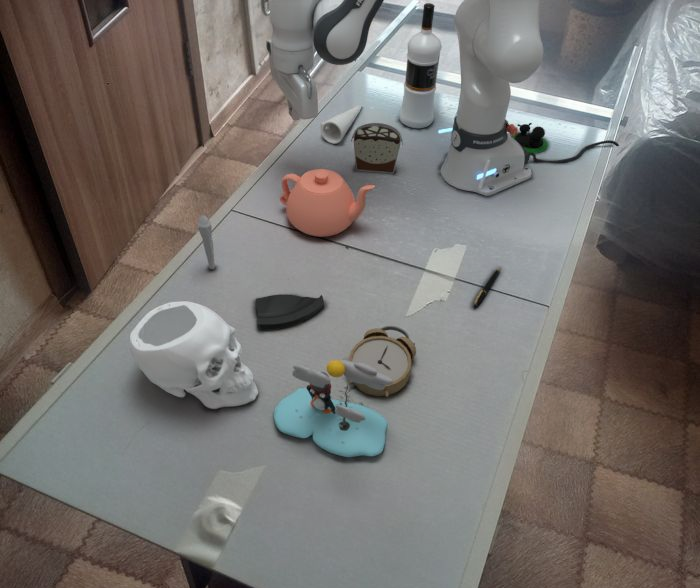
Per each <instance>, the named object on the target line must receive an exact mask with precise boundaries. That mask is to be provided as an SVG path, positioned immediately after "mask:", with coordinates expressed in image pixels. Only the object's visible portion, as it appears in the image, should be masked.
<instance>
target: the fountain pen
mask: <svg viewBox="0 0 700 588" xmlns="http://www.w3.org/2000/svg"><path fill="white" fill-rule="evenodd" d="M500 271H501V266H499V267H497V268H496V269H495V271H494V272H493V273H492V275H491V277H489V279H488V280H487V282H486V284H485V285H484V286H483V288H482V289H481V290H480V292H479V293H478V295H477V297H476V298H475V300H474V303H473V308H474V309H475V308H477V307H478V306H479V305H480V304H481V303H482V301H483V300H484V298H485V297H486V295H487V294H488V292H489V290H490V288H491V287H492V285H494V284H493V283H494V282H495V280H496V279H497V277H498V275H499V273H500Z"/></svg>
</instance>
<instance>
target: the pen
mask: <svg viewBox="0 0 700 588" xmlns="http://www.w3.org/2000/svg"><path fill="white" fill-rule="evenodd" d="M197 227H198V228H197V229H198V231H199V235H200V237H201V239H202V244H203V248H204V251H205V256H206V259H207V260H206V261H207V264H208V267H209V269H210V270H214V269H215V268H216V264H215V253H214V252H215V251H214V240H213V235H212V231H213V230H212V222H211V220H210V219H209V218H208V217H207V216H206V215H205V214H202V215H201V216H200V217H199V219H198V221H197Z"/></svg>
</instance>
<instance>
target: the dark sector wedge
mask: <svg viewBox="0 0 700 588" xmlns="http://www.w3.org/2000/svg"><path fill="white" fill-rule="evenodd" d="M324 307H325V300H324V297H323V295H322V294H321V295H320V296H319V297H310V296H300V295H295V294H288V293H286V294H273V295H272V294H271V295H267V296H262V297H257V298H255V312H256V315H257V319H256V322H257V324H258V326H259V330H260V331H271V330H281V329H286V328H290V327H293V326H296V325H299V324H301V323H303V322H306V321H307V320H309V319H311V318H312V317H313V316H315V315H316V314H318V313H319V312H320V311H321V310H322V309H323V308H324Z"/></svg>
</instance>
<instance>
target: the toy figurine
mask: <svg viewBox="0 0 700 588" xmlns="http://www.w3.org/2000/svg"><path fill="white" fill-rule="evenodd" d="M532 124H533V123H532V122H529V123H528V124H527V123H524V124H519V123H518V124H516V127H519V128H518V131H519V132H517V133H516V134H515V135H514V136H512V135H510V136H511V137H512V138H513V139H515V140H516V141H517V142H518V143H519V144H521V145H522V147H523V148H524V149H525V150H526V151H527V152H530V153H534V154H537V153H542V152H544V151H545V150H547V149H548V145H549V144H548V141H547V140H546V139H545V138H544V136H545V135H546V131H545V129H544V127H542V126H538V125H537V126H535V127H533V129H532V131H531V125H532Z"/></svg>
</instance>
